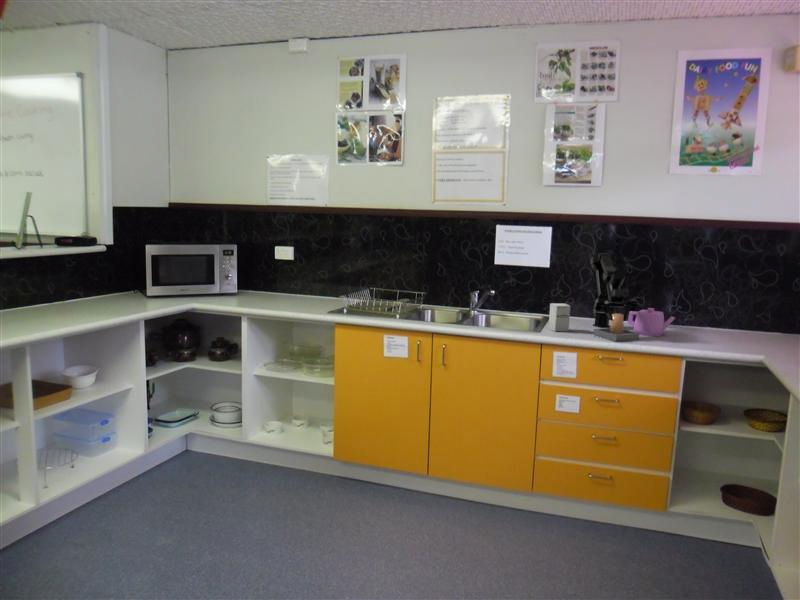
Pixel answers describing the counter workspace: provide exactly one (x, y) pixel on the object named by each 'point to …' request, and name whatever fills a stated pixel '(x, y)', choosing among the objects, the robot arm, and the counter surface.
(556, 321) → the grey box
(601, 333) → the tray
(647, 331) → the teakettle
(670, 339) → the counter surface
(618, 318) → the orange-brown rounded cylinder
